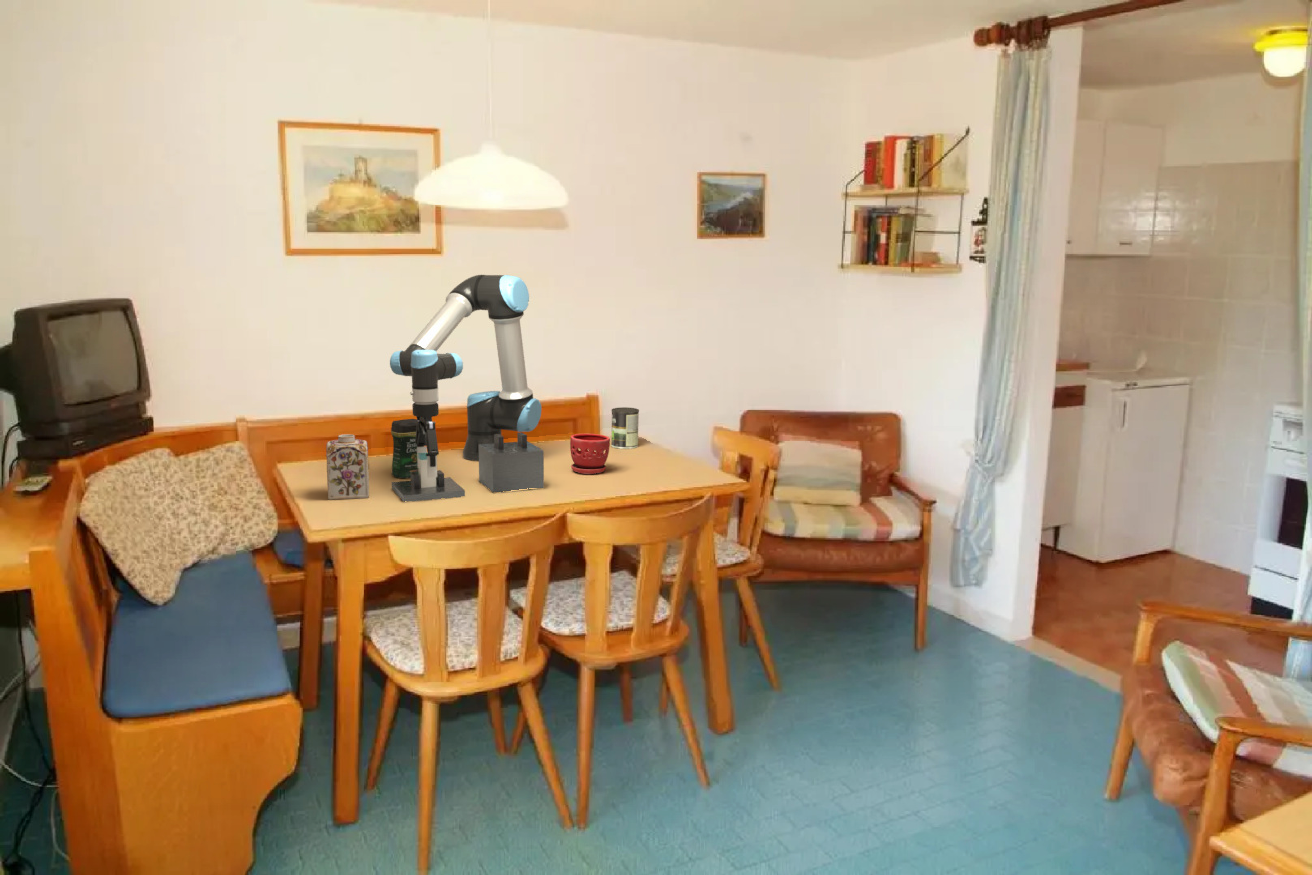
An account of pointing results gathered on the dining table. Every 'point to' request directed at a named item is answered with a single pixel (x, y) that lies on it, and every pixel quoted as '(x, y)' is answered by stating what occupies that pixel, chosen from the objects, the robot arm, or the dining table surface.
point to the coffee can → (625, 428)
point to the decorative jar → (347, 468)
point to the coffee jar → (404, 448)
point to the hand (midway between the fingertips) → (427, 472)
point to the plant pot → (589, 453)
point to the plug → (424, 472)
